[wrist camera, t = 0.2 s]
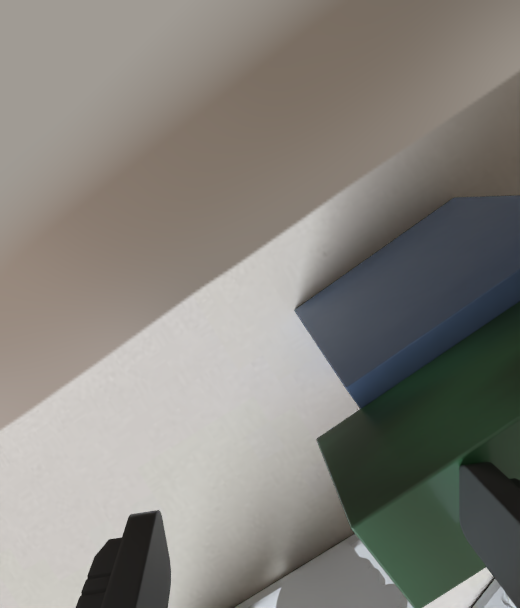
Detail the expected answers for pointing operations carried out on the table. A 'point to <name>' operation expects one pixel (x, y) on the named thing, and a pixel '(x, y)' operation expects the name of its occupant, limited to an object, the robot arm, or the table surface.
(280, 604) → the ornament
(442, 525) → the green bar
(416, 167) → the table surface
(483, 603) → the handheld gaming console
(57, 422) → the table surface
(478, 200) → the riser block
